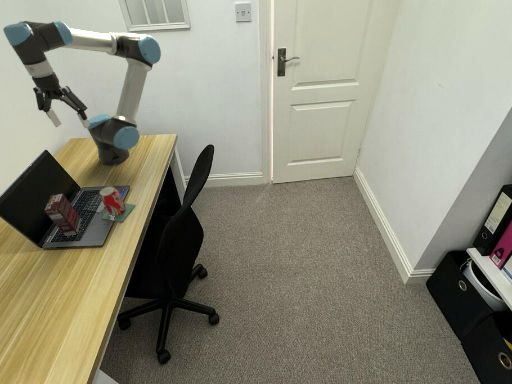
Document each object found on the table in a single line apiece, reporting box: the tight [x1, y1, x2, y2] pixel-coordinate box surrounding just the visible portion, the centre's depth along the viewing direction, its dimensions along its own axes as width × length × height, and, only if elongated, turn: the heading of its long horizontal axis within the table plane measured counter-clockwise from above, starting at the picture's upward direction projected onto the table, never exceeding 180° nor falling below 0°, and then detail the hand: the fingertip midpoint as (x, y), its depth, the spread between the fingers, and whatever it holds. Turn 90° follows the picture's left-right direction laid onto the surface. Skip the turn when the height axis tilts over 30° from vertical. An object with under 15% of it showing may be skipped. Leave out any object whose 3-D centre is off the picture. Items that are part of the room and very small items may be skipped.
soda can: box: [99, 185, 126, 216], centre depth 116 cm, size 7×7×12 cm
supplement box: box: [43, 193, 83, 237], centre depth 109 cm, size 9×5×16 cm, turn 13°
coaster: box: [101, 202, 136, 223], centre depth 120 cm, size 10×10×1 cm
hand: (73, 126), depth 115 cm, fingers open, 13 cm apart
